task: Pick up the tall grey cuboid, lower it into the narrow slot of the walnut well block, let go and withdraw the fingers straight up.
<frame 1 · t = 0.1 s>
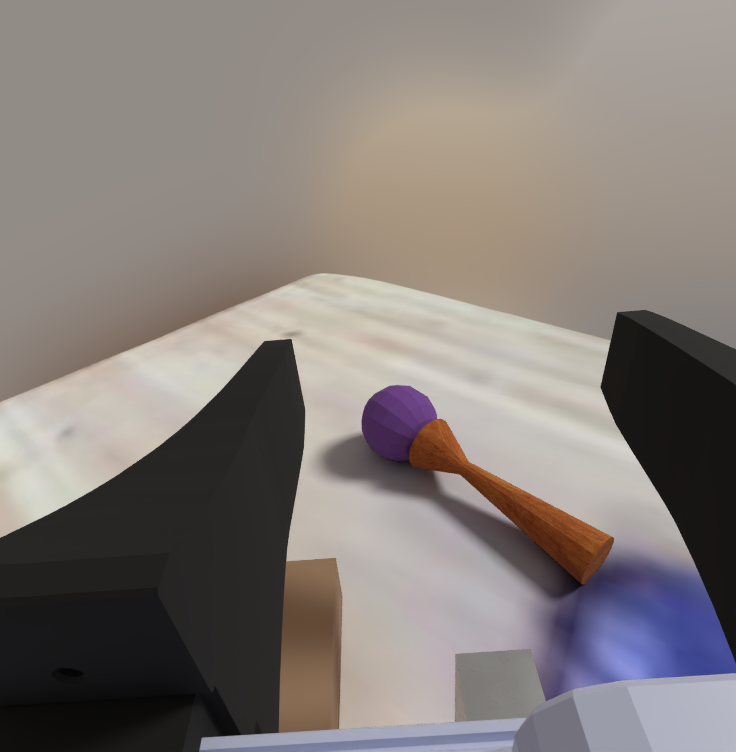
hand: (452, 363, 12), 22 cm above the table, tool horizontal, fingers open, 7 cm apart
purple and brown maraca: (466, 497, 38), on the table
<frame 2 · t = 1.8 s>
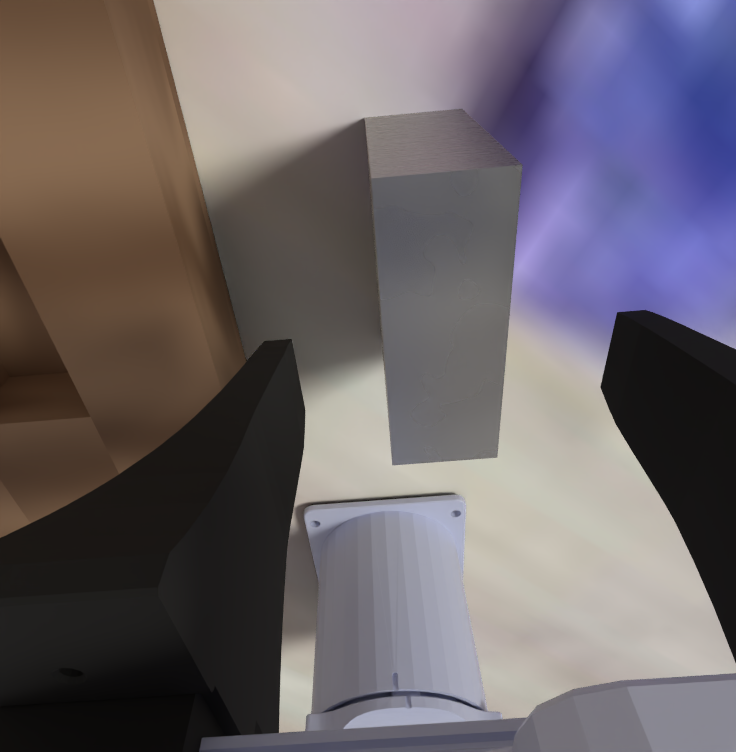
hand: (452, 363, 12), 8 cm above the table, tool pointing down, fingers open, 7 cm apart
tall grey cuboid: (416, 238, 18), on the table
well: (12, 246, 18), on the table
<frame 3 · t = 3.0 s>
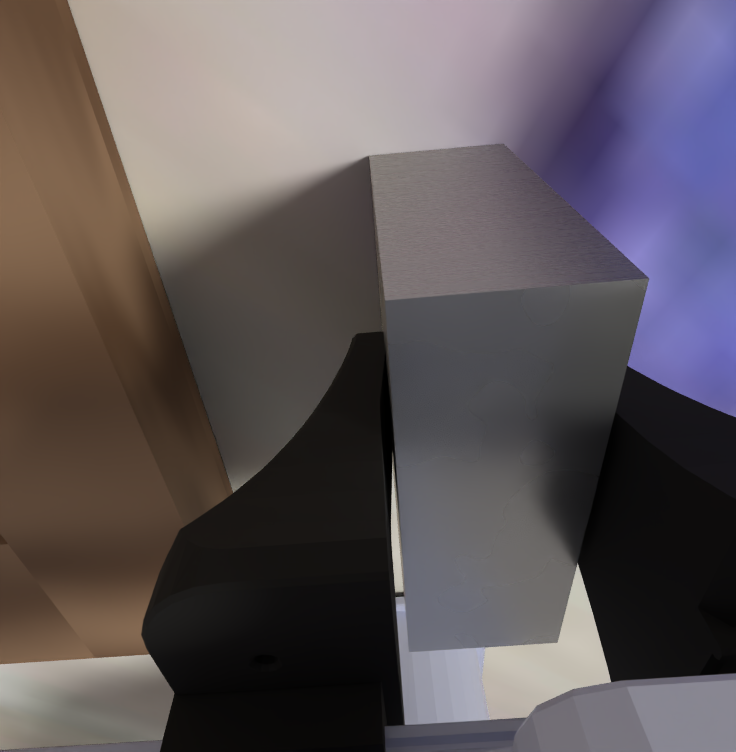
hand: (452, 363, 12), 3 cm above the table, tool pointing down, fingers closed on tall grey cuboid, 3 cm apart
tall grey cuboid: (436, 308, 14), on the table, touching gripper
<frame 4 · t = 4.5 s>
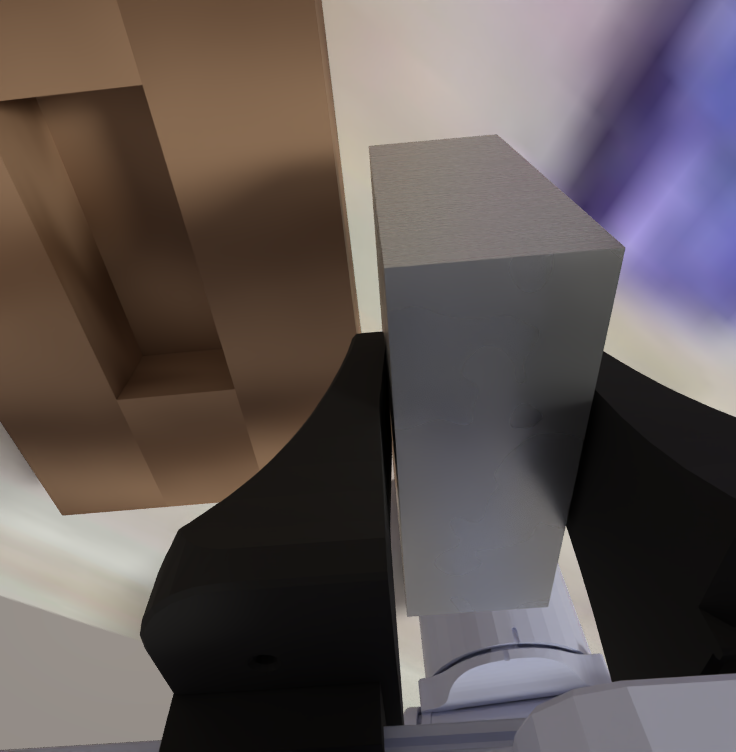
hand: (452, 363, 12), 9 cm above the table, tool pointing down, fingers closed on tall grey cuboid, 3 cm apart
tall grey cuboid: (433, 294, 15), point 6 cm above the table, touching gripper
well: (160, 231, 19), on the table
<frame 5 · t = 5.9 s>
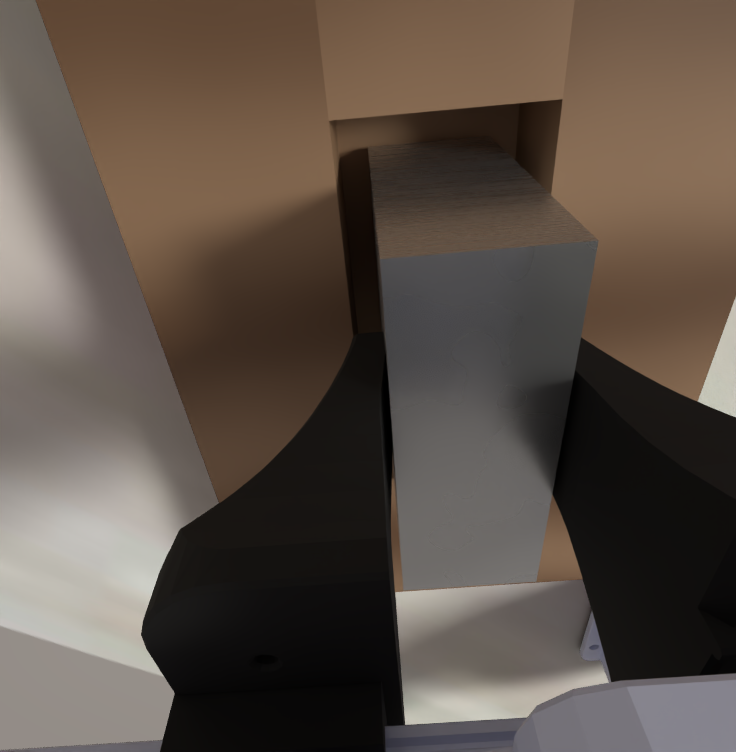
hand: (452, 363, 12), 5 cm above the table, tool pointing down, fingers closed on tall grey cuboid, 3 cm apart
tall grey cuboid: (430, 288, 15), point 1 cm above the table, touching gripper
well: (427, 273, 16), on the table
when the fingers open (5 cm above the table, at t = 6.3 s): tall grey cuboid stays where it is, resting on well.
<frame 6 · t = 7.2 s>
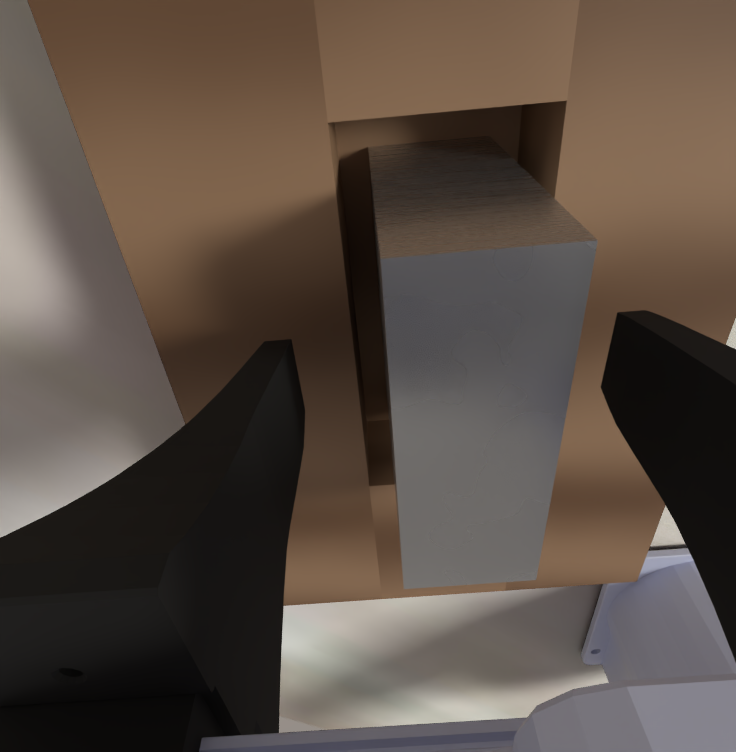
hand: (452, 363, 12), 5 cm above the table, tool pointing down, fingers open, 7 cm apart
tall grey cuboid: (430, 288, 15), resting on well
well: (428, 277, 16), on the table
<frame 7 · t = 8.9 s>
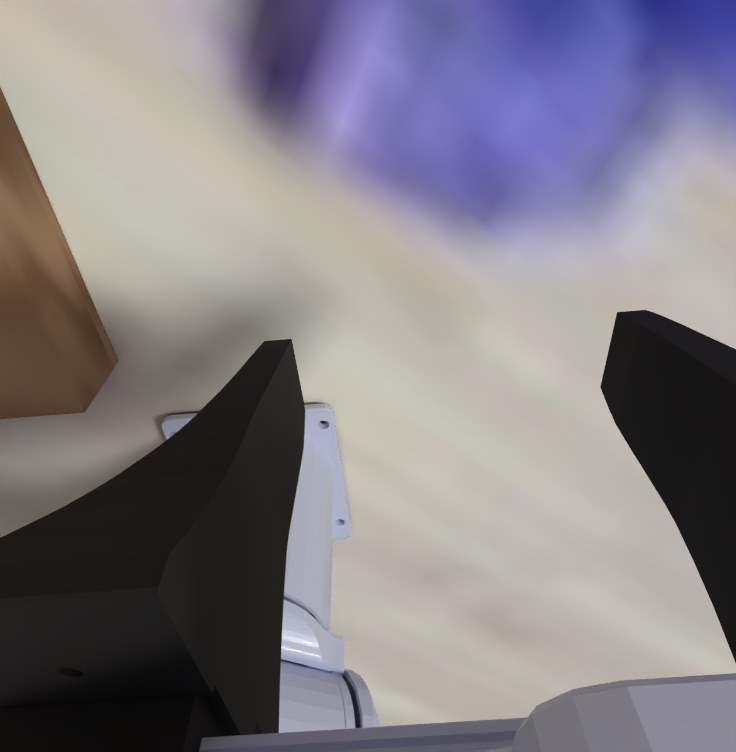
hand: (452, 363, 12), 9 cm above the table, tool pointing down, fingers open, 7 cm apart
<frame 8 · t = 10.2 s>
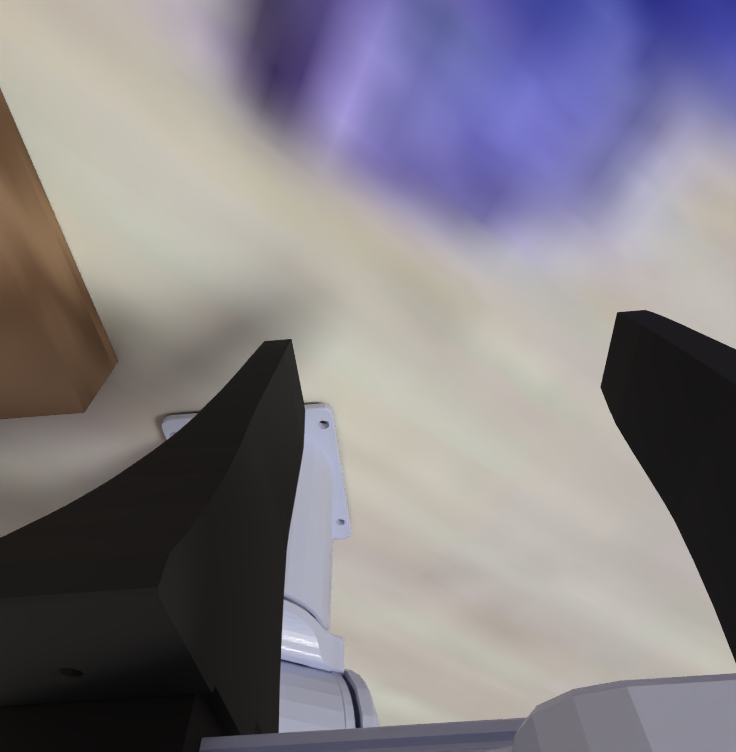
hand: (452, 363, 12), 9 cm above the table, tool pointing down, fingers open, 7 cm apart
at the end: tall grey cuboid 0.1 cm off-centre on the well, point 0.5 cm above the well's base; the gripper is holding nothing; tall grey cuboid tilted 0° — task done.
